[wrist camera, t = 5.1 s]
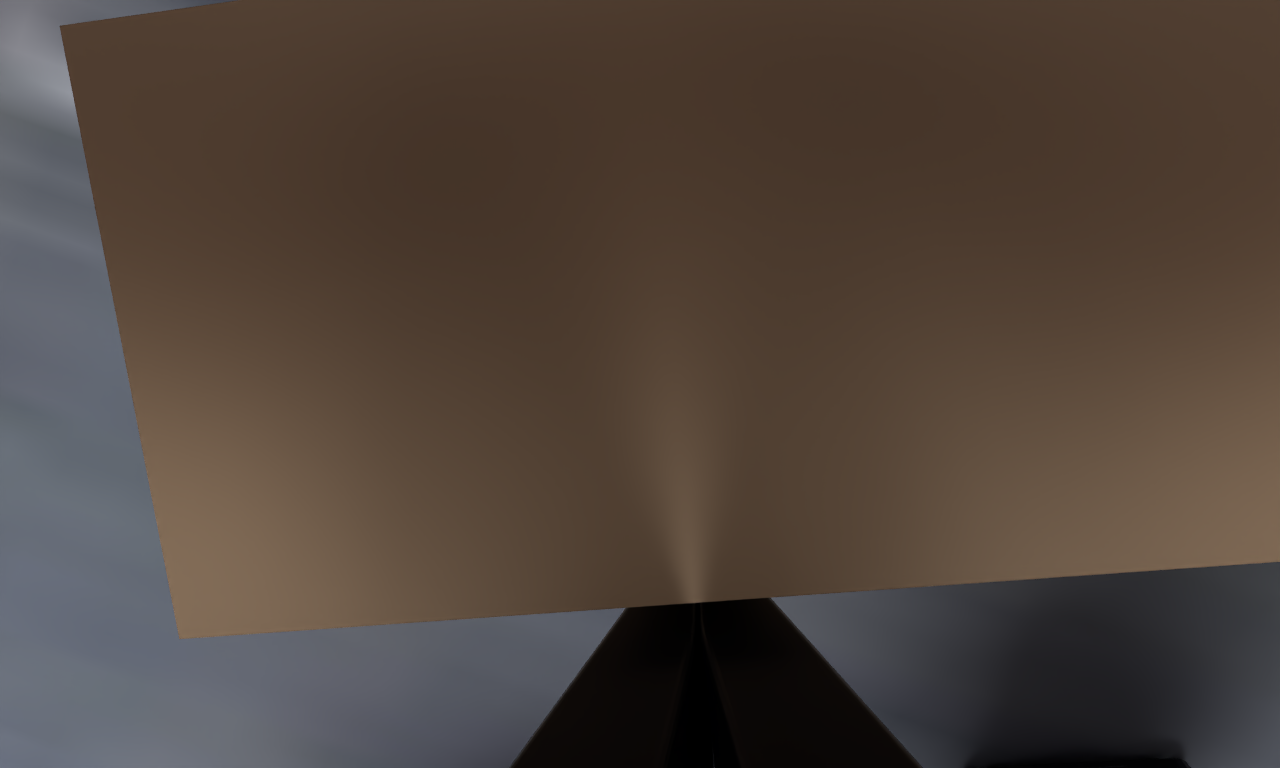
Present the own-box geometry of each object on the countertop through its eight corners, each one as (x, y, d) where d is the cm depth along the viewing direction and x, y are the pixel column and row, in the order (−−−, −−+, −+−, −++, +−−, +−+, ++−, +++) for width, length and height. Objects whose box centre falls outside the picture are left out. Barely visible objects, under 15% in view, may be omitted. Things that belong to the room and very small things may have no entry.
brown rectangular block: (896, 380, 18) (1299, 597, 6) (511, 415, 19) (186, 671, 7) (881, 142, 17) (1305, -152, 5) (482, 189, 18) (59, 26, 6)
